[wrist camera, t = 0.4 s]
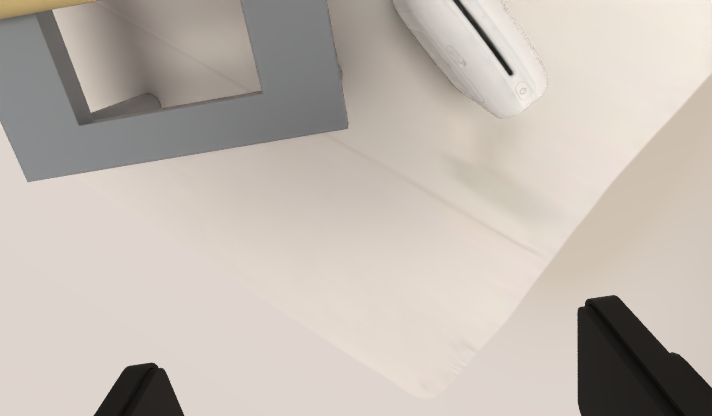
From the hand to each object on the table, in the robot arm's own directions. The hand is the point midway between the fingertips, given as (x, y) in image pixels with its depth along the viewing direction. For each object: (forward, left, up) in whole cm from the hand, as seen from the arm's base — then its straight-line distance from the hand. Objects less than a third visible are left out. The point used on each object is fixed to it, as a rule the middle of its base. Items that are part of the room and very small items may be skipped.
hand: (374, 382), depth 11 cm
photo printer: (-5, +7, -31) cm, 32 cm away
